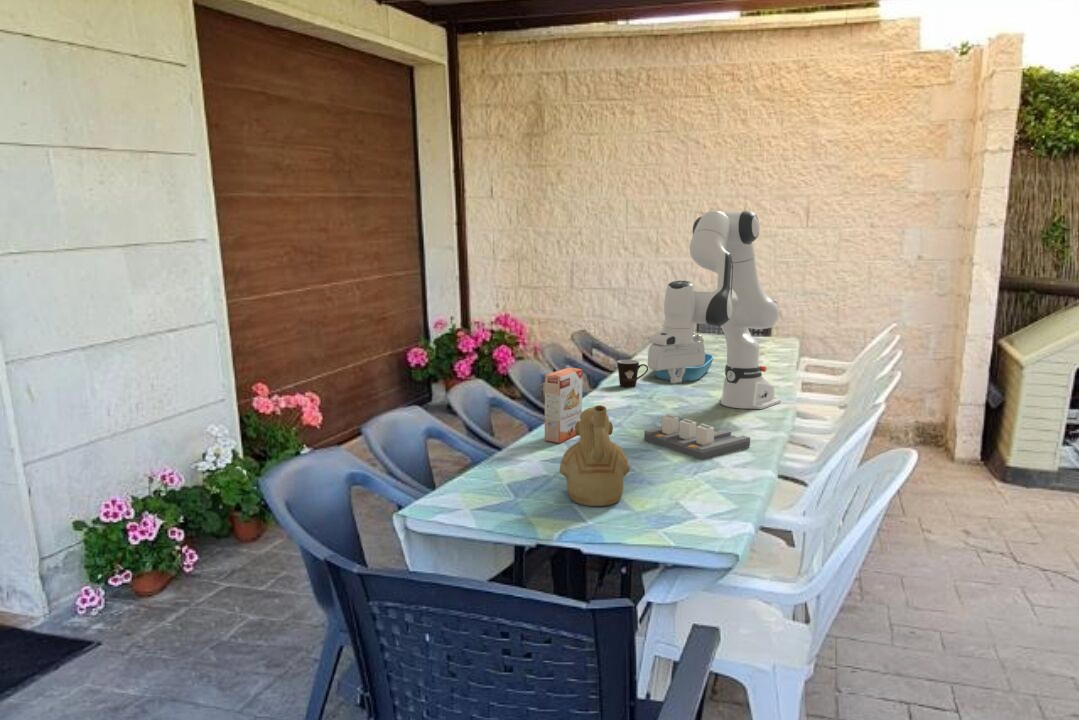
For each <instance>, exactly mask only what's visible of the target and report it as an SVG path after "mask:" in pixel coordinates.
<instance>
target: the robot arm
mask: <svg viewBox="0 0 1079 720" xmlns="http://www.w3.org/2000/svg"><path fill="white" fill-rule="evenodd" d="M692 225H693V226H692V235H691V239H690V242H689V243H690V244H689V254H690V257H691V259H692V260H693V261H694V263H695V264H696V265H698V266H699V267H701V268H703V269H704V270H709V271H710V272H711V271H712V272H713V273H715V274H717V285H716V287H717V288H716V289H715V290H713V291H696V290H695V289H694V284H693V282H691V281H689V280H688V281H687V280H674V281H671V282H669V283H668V284H667V286H666V289H665V296H664V305H663V315H664V322H663V326H662V327H663V328H662V329H661V330H660V331H658V332H656V333H654V334H652V335H650V336H649V343H650V346H649V347H648V353H647V366H648V369H649V370H650V371H651V370H652V371H654V370H655V371H660V370H668V373H669V375H670V377H671V380H670V383H671V384H679V383H682V382H683V381H682V376H683V375H684V373H685V368H686V367H692V366H700V365H703V364H704V362H705V353H706V351H705V349H706V348H705V344H704V341H705V340H704V338H703V336H701V334H696V335H695V334H694V335H693V333H694V328H695V326H694V324H699V325H700V324H702V325H709V326H714V327H720V328H721V329H722V332H723V334H724V338H725V342H726V365H725V368H724V374H725V378H724V381H723V388H722V395H721V396H720V399H719V400H720V404H721V405H723V406H724V407H728V408H732V409H733V408H735V409H754V410H763V409H766V408H769V407H771V406H775V405H776V404H780V403H781V402H782V400H781V398H779V397H776V396H775V388H774V385H773V384H772V383H770V382H769V381H768V380H767V379H766V378H765V377H764V376H763V373H765V372H767V366H765V365H764V366H763V365H760V364H759V363H760V362H759V360H760V345H759V342H758V341H757V340H756V339H755V338H754V337H753V336H752V335H751V332H750V330H749V329H752V330H753V329H754V330H765V329H771V328H773V327H774V326H775V325H776V323H777V322H778V319H779V317H780V316H779V315H780V311H779V306H778V305H777V303H776V302H775V301H773V300H772V299H771V298H770V297H769V295H767V293H766V292H765V290H764V288H763V286H762V284H761V282H760V280H759V276H758V269H757V264H756V254H755V250H754V249H755V247H754V245H753V244H754V243H753V242H755V241H756V239H757V238H758V237H759V234H760V221H759V218H758V216H757V214H755V212H753V211H747V210H743V211H723V212H722V211H720V210H709V211H706V212H705V213H703V214H702V215H701V216H699V217H698V218H697V219H695V221H694V223H693V224H692ZM732 291H733V292H734V294H732V293H733V292H732ZM695 338H696V339H695ZM676 368H677V370H678V373H677V375H676V374H675V372H676ZM762 372H763V373H762Z"/></svg>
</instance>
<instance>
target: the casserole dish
mask: <svg viewBox="0 0 1079 720" xmlns="http://www.w3.org/2000/svg"><path fill="white" fill-rule="evenodd" d="M713 360H714V355H713V354H709V353H706V352H705V362H704V364H703V365H700V366H692V367H686V368H685V373H684V375H683V376H682V382H694V381H697V380H698V379H701V378H702V376H704V375H705V374H707V372H708V371H709V369H710V368H711V366H712V364H713ZM653 372H654V375H655V377H656V378H658V379H659V378H660V379H659V380H664V379H667V380H666V381H671V377H670V375H669V373H668V370H660V371H655V370H653ZM677 373H678V370H677V368H676V372H675V374H676V375H677Z"/></svg>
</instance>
